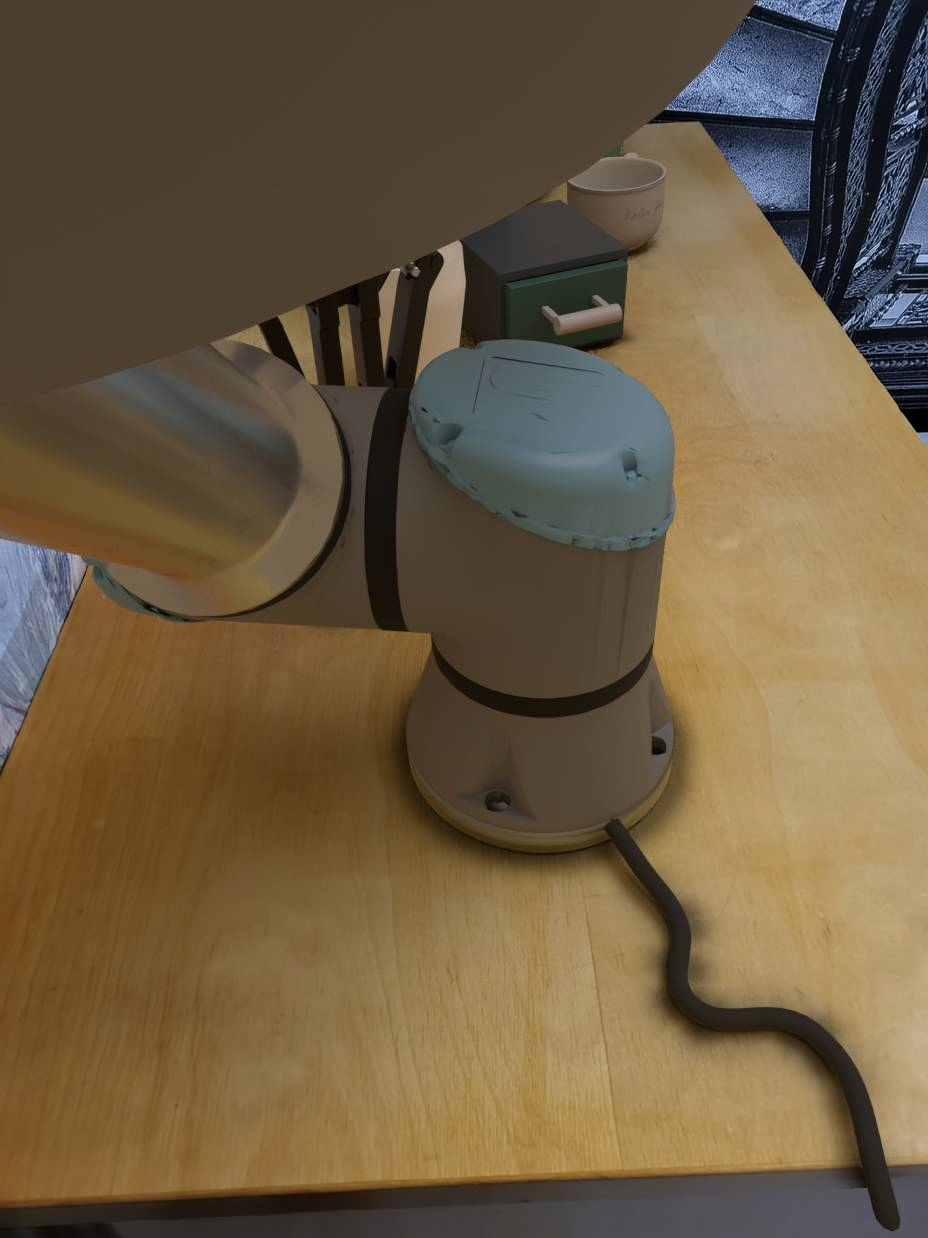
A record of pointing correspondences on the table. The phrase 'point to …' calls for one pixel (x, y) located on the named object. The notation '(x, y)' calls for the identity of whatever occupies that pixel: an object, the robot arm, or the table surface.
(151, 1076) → the table surface
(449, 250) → the cup
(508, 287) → the drawer
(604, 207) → the teacup
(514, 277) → the cabinet
